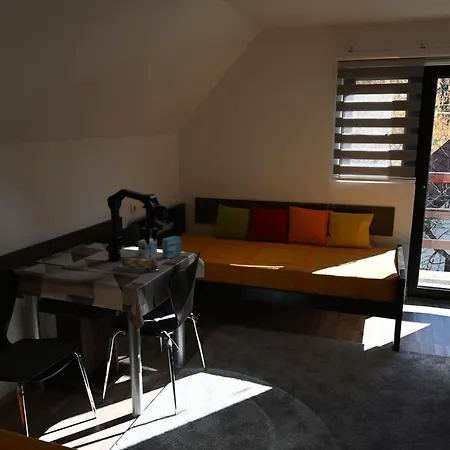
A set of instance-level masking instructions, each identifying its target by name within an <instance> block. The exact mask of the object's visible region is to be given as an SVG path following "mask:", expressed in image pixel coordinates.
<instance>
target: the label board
mask: <svg viewBox="0 0 450 450" xmlns="http://www.w3.org/2000/svg"><path fill="white" fill-rule="evenodd" d="M112 271H114V272H115V271H117V272H128V273H137V274H138V273H139V274H144V273H146V272H149V268H144V267H133V266H122V262H121V263H119V264H118V265H116V266H114V267H112Z"/></svg>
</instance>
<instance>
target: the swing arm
mask: <svg viewBox="0 0 450 450" xmlns="http://www.w3.org/2000/svg"><path fill="white" fill-rule="evenodd" d="M121 258H122V259H121V263H122V266H133V267H144V268H151V269H157V268H158V260H157V259H156V258H155V259H150V258H149V259H142V258H138V257H137V258H136V257H121Z"/></svg>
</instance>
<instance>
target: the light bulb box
mask: <svg viewBox="0 0 450 450" xmlns="http://www.w3.org/2000/svg"><path fill="white" fill-rule="evenodd" d="M137 247H138V248H137V249H138V250H137V251H138V259H149V260H150V259H151V258H154V257H157V256H158V239H157V238H156V241H153V238H152V237H150V242H149V245H147V243H146V242H145V240H144V239H141V240H137Z"/></svg>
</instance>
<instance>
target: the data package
mask: <svg viewBox="0 0 450 450" xmlns="http://www.w3.org/2000/svg"><path fill="white" fill-rule="evenodd" d="M181 242H182V238H181V237H180V236H178V235H177V236H176V235H173V236H169V237H166V238H162V239H161V243H162V244H161V247H162V248H161V249H162V258H166V259H173V258H176V257H179V256H181V254H182V243H181ZM178 255H179V256H178ZM175 256H176V257H175ZM172 257H173V258H172Z"/></svg>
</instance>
